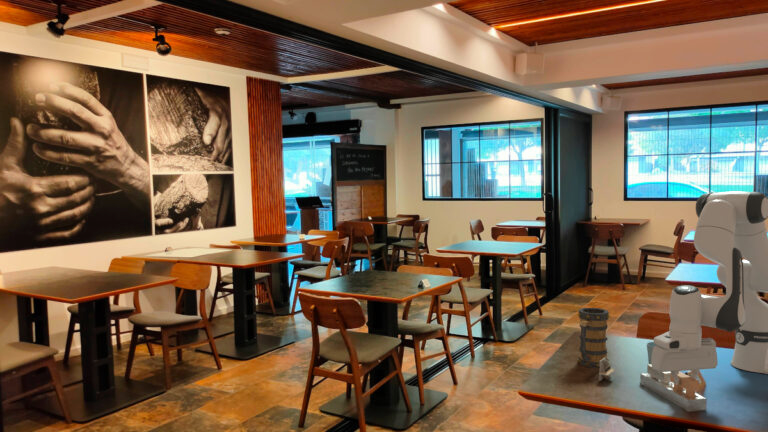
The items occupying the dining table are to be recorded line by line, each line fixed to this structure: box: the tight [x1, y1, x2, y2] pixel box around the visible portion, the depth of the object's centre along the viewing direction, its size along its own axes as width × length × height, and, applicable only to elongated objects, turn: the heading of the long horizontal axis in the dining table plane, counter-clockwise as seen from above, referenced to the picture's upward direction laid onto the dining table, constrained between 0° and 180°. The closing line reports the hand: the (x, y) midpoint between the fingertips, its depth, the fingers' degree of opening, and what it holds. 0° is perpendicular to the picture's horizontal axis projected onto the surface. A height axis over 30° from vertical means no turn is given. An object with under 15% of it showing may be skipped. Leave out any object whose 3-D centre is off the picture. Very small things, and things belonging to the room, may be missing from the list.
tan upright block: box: [671, 371, 700, 398], centre depth 178 cm, size 3×9×7 cm, turn 9°
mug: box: [576, 307, 611, 369], centre depth 215 cm, size 13×17×20 cm
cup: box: [646, 341, 656, 364], centre depth 205 cm, size 8×8×10 cm
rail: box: [639, 363, 707, 413], centre depth 184 cm, size 6×24×7 cm, turn 9°
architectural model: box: [598, 357, 616, 382], centre depth 199 cm, size 3×7×7 cm, turn 141°
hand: (684, 383), depth 178 cm, fingers closed on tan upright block, 3 cm apart
